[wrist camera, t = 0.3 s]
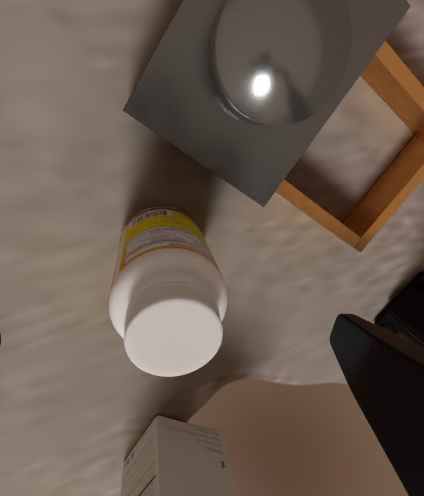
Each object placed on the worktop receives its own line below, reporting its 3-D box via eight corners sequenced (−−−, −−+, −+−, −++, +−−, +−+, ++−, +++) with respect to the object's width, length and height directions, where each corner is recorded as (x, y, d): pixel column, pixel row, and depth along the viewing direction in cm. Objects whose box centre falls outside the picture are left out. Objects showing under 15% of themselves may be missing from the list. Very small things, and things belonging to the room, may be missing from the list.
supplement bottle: (173, 289, 23) (191, 407, 14) (105, 254, 21) (72, 366, 12) (217, 230, 22) (269, 317, 13) (150, 186, 20) (153, 252, 10)
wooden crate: (441, 116, 22) (530, 117, 17) (330, 251, 24) (377, 286, 19) (250, -113, 15) (302, -225, 10) (126, 110, 18) (119, 109, 13)
